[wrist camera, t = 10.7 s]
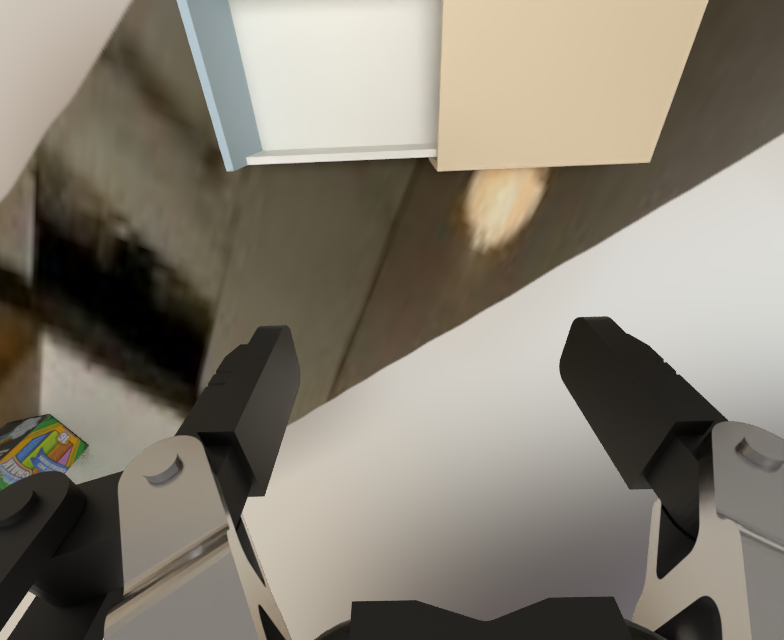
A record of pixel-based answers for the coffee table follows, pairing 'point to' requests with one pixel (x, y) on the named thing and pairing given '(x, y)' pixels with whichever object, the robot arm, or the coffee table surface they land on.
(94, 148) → the coffee table surface
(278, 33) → the inner tray
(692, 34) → the sleeve
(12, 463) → the chalk box
